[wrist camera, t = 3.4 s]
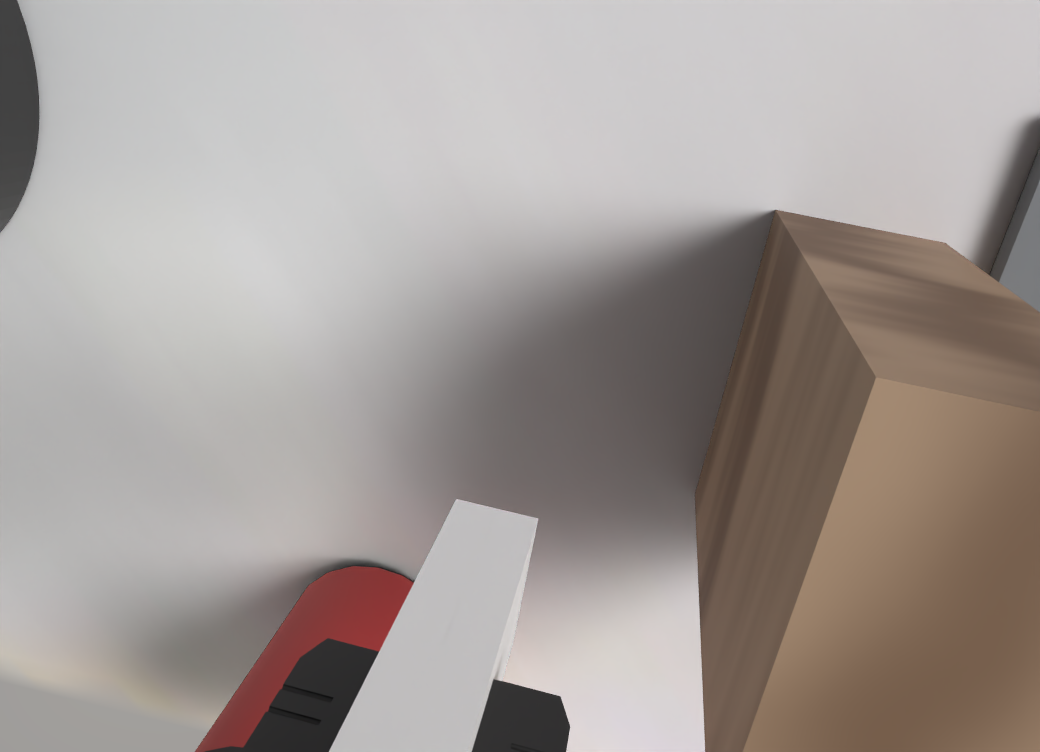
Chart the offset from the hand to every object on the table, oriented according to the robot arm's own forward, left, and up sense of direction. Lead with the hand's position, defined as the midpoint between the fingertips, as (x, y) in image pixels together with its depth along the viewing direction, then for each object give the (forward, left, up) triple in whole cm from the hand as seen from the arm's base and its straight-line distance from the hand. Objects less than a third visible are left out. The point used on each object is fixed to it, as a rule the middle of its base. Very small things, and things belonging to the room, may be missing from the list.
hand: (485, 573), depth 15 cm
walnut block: (+8, 0, -14) cm, 16 cm away
